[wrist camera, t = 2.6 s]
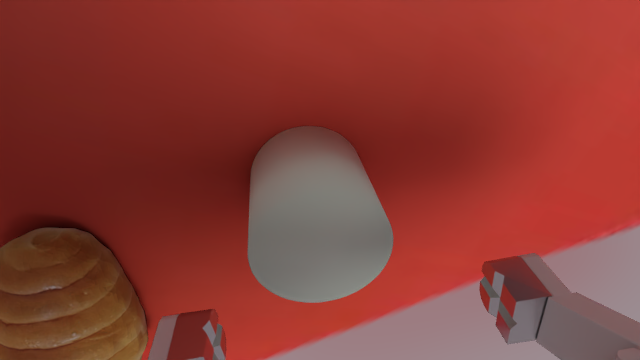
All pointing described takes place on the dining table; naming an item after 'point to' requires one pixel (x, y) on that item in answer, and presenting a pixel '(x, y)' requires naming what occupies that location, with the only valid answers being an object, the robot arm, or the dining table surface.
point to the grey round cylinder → (314, 217)
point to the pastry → (67, 300)
